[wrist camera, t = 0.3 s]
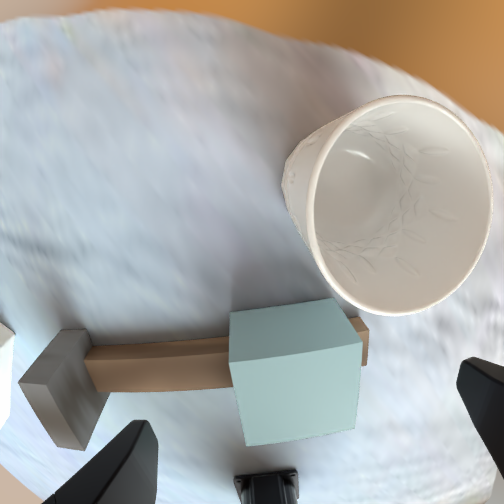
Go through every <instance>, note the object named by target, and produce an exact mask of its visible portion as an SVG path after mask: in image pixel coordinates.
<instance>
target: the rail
mask: <svg viewBox="0 0 504 504" xmlns="http://www.w3.org/2000/svg"><path fill="white" fill-rule="evenodd" d="M348 320H349V321H350V323H351V324H352V326H353V327H354V329H355V331H356V332H357V334H358V335H359V337H360V338H361V340H362V341H363V347H362V362H361V366H366V365H367V356H368V343H369V329H368V328H367V326H366V325H365V323H364V322H363V321H362V319H361V318H360V317H354V318H349V319H348ZM18 384H19V386H20V388H21V389H22V391H23V393H24V395H25V397H26V398H27V400H28V402H29V404H30V405H31V407H32V409H33V410H34V412H35V414H36V415H37V417H38V419H39V420H40V422H41V423H42V425H43V427H44V428H45V430H46V431H47V433H48V434H49V436H50V437H51V439H52V440H53V442H54V443H55V445H56V446H57V447H61V448H67V449H73V450H80V451H85V450H86V447H87V445H88V443H89V440H90V438H91V435H92V433H93V431H94V428H95V426H96V424H97V421H98V419H99V417H100V415H101V412H102V410H103V408H104V406H105V403H106V401H107V399H108V397H109V395H110V392H166V391H187V390H202V389H215V388H226V387H233V382H232V377H231V372H230V367H229V336H225V337H215V338H206V339H195V340H184V341H172V342H159V343H144V344H126V345H103V346H93V345H92V342H91V340H90V337H89V334H88V331H87V329H76V330H61V331H60V332H59V333H58V334H57V335H56V336H55V338H54V339H53V340H52V341H51V342H50V343H49V345H48V346H47V347H46V348H45V349H44V351H43V352H42V353H41V354H40V355H39V357H38V358H37V359H36V360H35V361H34V363H33V364H32V365H31V366H30V368H29V369H28V370H27V371H26V373H25V374H24V375H23V376H22V378H21V379H20V380H19V381H18Z"/></svg>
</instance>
